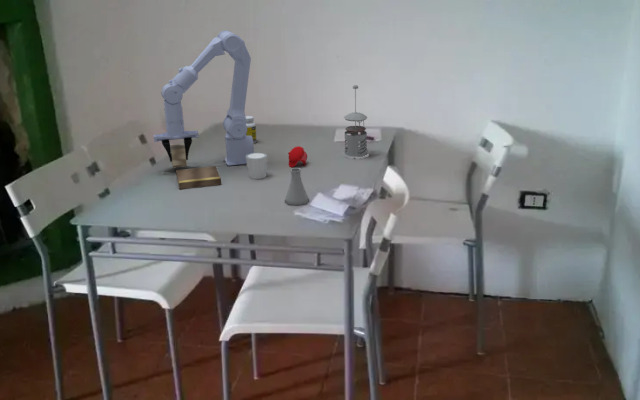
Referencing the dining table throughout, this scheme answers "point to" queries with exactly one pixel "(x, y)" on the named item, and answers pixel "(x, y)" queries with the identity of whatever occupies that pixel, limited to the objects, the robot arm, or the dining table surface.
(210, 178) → the dock
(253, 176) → the shot glass
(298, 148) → the cap
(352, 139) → the french press
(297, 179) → the flask
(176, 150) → the beige block
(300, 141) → the dining table surface
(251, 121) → the supplement bottle
